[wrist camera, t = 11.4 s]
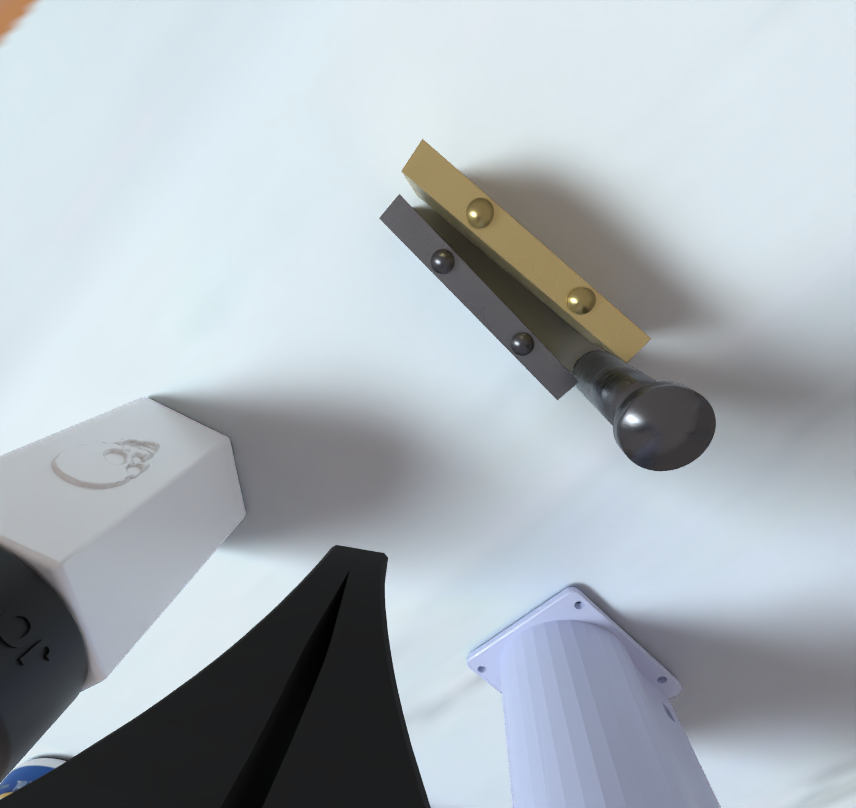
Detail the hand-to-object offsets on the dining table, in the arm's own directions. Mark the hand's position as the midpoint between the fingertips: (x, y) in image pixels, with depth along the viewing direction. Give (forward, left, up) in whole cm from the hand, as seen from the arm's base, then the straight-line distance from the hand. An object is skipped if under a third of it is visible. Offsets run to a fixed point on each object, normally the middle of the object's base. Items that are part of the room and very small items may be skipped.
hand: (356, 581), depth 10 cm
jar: (+7, +11, -10) cm, 16 cm away
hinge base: (+1, -8, -10) cm, 13 cm away
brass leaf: (+2, -9, -10) cm, 13 cm away
